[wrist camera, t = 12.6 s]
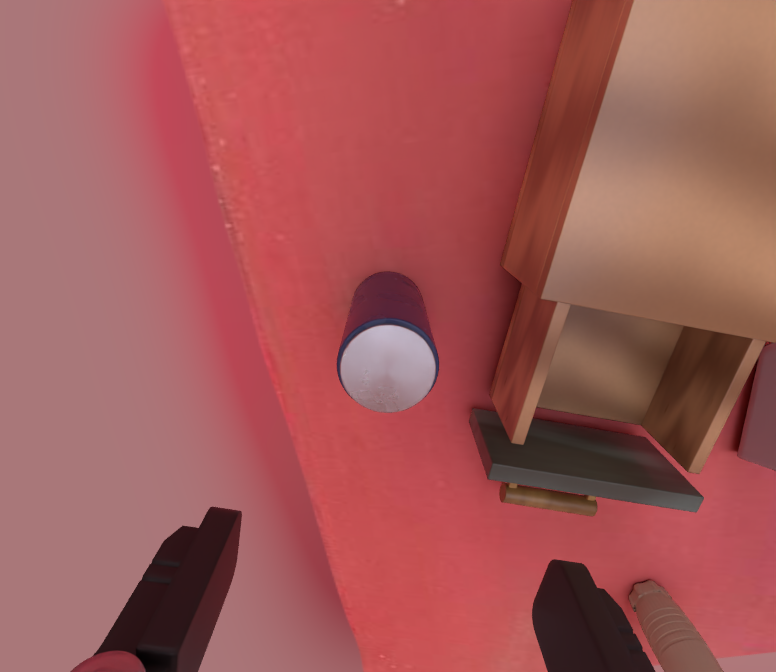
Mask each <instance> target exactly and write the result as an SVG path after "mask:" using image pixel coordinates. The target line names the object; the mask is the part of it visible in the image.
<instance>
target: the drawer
mask: <svg viewBox="0 0 776 672" xmlns="http://www.w3.org/2000/svg"><path fill="white" fill-rule="evenodd" d="M765 343H766V341H762V340H757V339H751V338H746V337H741V336H735V335H730V334H725V333H719V332H714V331H709V330H703V329H698V328H693V327H687V326H682V325H677V324H671V323H666V322H661V321H655V320H650V319H645V318H639V317H634V316H629V315H623V314H618V313H613V312H607V311H602V310H597V309H591V308H586V307H581V306H576V305H570V304H565V303H560V302H554V301H549V300H544V299H540V298H539V297H538V296H537V295H535V294H534V293H533V292H532V291H530V290H529V289H528V288H527V287H526V286H524V285H523V284H522V285H521V289H520V292H519V295H518V299H517V302H516V306H515V309H514V312H513V316H512V319H511V323H510V326H509V329H508V333H507V336H506V339H505V343H504V346H503V350H502V353H501V356H500V360H499V363H498V366H497V370H496V373H495V377H494V380H493V383H492V387H491V390H490V394H489V395H490V397H491V399H492V402H493V404H494V406H495V408H496V411H497V412H493V411H487V410H482V409H476V408H473V409H472V412H471V415H470V419H469V423H470V426H471V429H472V433H473V436H474V439H475V442H476V445H477V448H478V451H479V454H480V457H481V460H482V463H483V466H484V469H485V472H486V475H487V478H488V479H489V480H495V481H502V482H507V483H502V484H501V487H500V492H499V496H500V500H501V502H503V503H510V504H516V505H523V506H529V507H535V508H542V509H548V510H555V511H561V512H567V513H574V514H580V515H587V516H594V515H595V514H596V512H597V502H596V497H602V498H608V499H615V500H621V501H627V502H633V503H640V504H646V505H652V506H659V507H665V508H671V509H677V510H684V511H690V512H697V511H698V509H699V507H700V505H701V503H702V501H703V500H704V497H703V496H702V495H701V494H700V493H699V492H698V491H697V490H696V489H695V488H694V487H693V486H692V485H691V484H690V483H689V482H688V480H687V479H686V478H685V477H684V476H683V475H682V474H681V473H680V472H679V471H678V470H677V469H676V468H675V467H674V466H673V465H672V464H671V463H670V462H669V461H668V460H667V459H666V458H665V457H664V456H663V455H662V454H661V453H660V452H659V451H658V450H657V449H656V448H655V447H654V445H653V444H652V443H651V442H650V441H649V440H648V439H647V438H646V437H641V436H635V435H629V434H623V433H617V432H611V431H605V430H599V429H594V428H588V427H582V426H576V425H570V424H564V423H558V422H552V421H546V420H540V419H535V418H533V415H534V412H535V409H536V407H538V408H544V409H550V410H556V411H562V412H567V413H573V414H579V415H585V416H591V417H597V418H602V419H608V420H614V421H620V422H626V423H632V424H637V425H641V426H642V427H643V428H644V429H645V430H646V431H647V432H648V433H649V434H650V435H651V436H652V437H653V438H654V439H655V440H656V441H657V442H658V443H659V444H660V445H661V446H662V447H663V448H664V449H665V450H666V451H667V452H668V453H669V454H670V455H671V456H672V457H673V458H674V459H675V460H676V461H677V462H678V463H679V464H680V465H681V466H682V467H683V468H684V469H685V470H686V471H687V472H690V473H696V474H700V472H701V470H702V468H703V466H704V464H705V462H706V460H707V458H708V456H709V454H710V452H711V450H712V448H713V446H714V444H715V442H716V440H717V438H718V436H719V434H720V432H721V430H722V428H723V426H724V424H725V422H726V420H727V418H728V416H729V414H730V412H731V410H732V408H733V406H734V404H735V402H736V400H737V398H738V396H739V394H740V392H741V390H742V388H743V386H744V384H745V382H746V380H747V378H748V376H749V374H750V372H751V370H752V368H753V366H754V365H755V363H756V361H757V359H758V357H759V355H760V353H761V351H762V349H763V347H764V345H765ZM518 484H520V485H518ZM522 485H527V486H522ZM528 486H533V487H528ZM534 487H539V488H534ZM541 488H546V489H541ZM547 489H552V490H547ZM553 490H558V491H553ZM560 491H564V492H560ZM566 492H571V493H566ZM572 493H577V494H572ZM578 494H583V495H578Z"/></svg>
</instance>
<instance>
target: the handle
mask: <svg viewBox="0 0 776 672" xmlns="http://www.w3.org/2000/svg"><path fill="white" fill-rule="evenodd" d="M629 601H630V604H631V606H632V608H633V611H634V612H636V614H637V618H638V620H639V623H640V625H641V627H642V630H643V632H644V634H645V636H646V638H647V640H648V642H649V644H650V646H651V648H652V650H653V652H654V654H655V656H656V657H657V659H658V661H659V663H660V665H661V667H662V668H663V670H664V672H723V670H722V669H721V667H720V665H719V664H718V662H717V660H716V659H715V657H714V655H713V654H712V652H711V650H710V649H709V647H708V646H707V644H706V643H705V641H704V640H703V638H702V637H701V635H700V634H699V632H698V631H697V630H696V628H695V627H694V625H693V624H692V623H691V622H690V620H689V619H688V617H687V616H686V615H685V613H684V612H683V611H682V610H681V608H680V607H679V606H678V605H677V604H676V603H675V602H674V601H673V600H672V597H671V596H670V595H669V594H668V592H667V591H666V590H665V589H664V588H663V587H661V586H658V585H657V584H656V583H655V582H654V581H651V580H648V581H646V582H644V583H637V584H635V585H634V589H633V591H632V593H631V594H629Z"/></svg>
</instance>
